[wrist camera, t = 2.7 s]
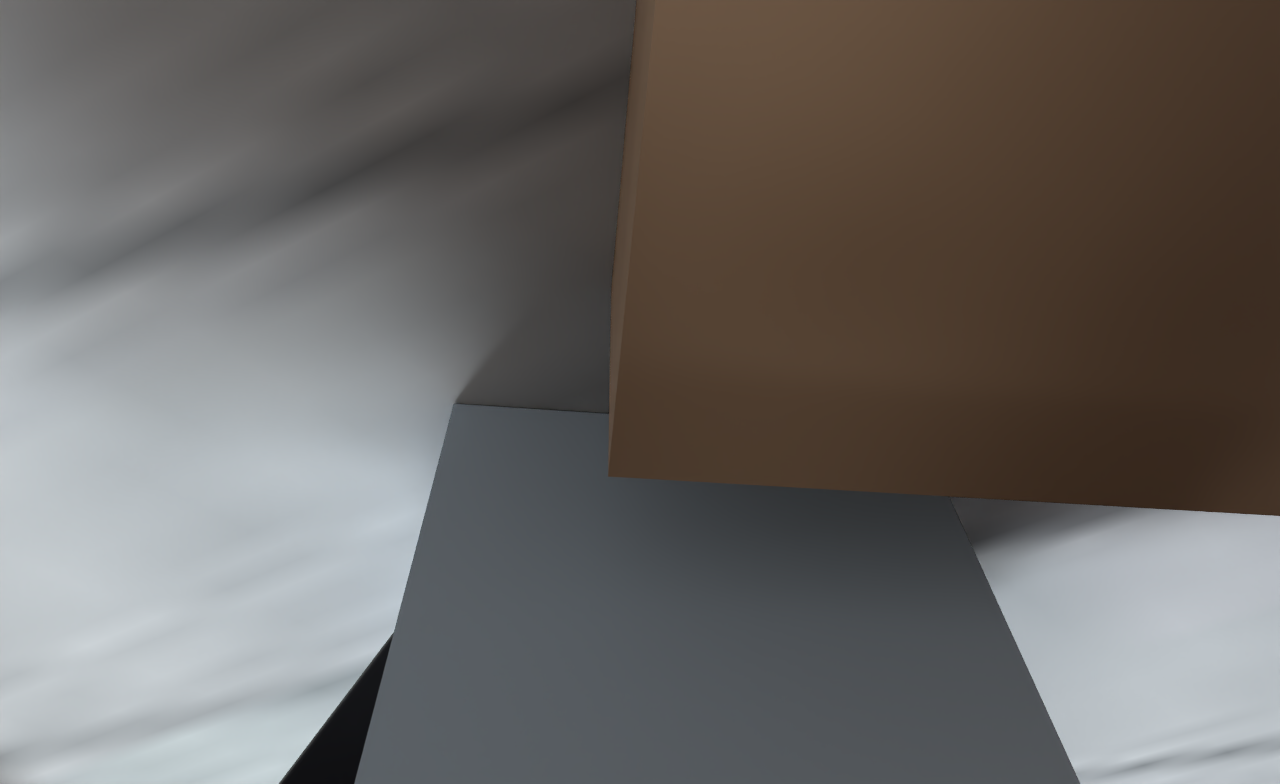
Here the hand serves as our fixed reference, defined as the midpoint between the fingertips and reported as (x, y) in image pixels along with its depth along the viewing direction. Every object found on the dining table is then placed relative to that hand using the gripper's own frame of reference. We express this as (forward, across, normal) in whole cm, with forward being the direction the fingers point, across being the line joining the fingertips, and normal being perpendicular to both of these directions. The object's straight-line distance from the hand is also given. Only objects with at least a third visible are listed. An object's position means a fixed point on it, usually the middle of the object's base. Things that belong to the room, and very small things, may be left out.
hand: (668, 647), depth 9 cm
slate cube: (+1, 0, 0) cm, 1 cm away
